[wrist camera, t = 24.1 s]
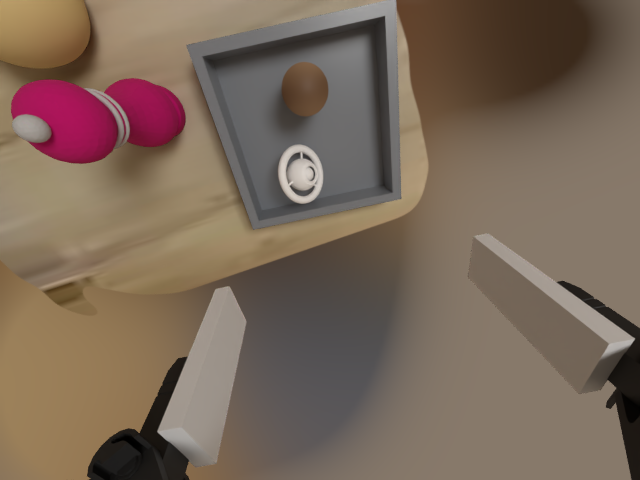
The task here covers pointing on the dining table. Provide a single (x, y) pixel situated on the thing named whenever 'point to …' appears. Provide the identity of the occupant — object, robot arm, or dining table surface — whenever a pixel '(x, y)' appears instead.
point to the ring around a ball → (300, 174)
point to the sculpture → (43, 32)
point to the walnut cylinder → (304, 89)
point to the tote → (312, 131)
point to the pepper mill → (94, 117)
